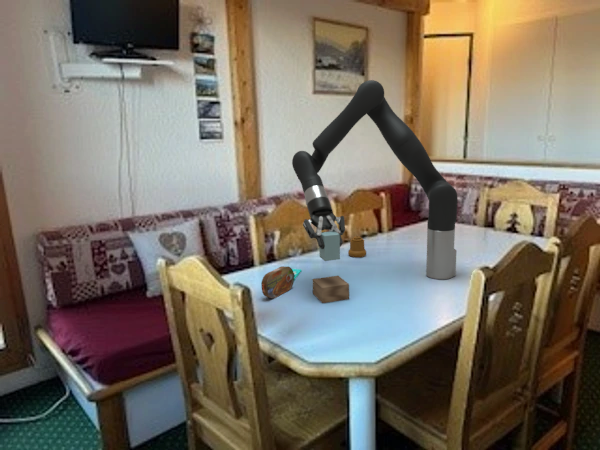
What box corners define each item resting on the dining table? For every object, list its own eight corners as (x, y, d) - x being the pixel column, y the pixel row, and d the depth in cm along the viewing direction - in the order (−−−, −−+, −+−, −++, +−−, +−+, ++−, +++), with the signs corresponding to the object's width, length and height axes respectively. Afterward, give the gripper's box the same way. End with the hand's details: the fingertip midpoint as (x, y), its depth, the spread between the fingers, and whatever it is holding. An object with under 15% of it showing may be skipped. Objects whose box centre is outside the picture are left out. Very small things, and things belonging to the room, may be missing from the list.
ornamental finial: (365, 258, 192) (347, 257, 194) (367, 253, 199) (349, 252, 201) (365, 239, 190) (346, 238, 192) (367, 234, 197) (349, 234, 199)
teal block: (334, 255, 153) (333, 231, 151) (340, 259, 148) (339, 234, 146) (319, 256, 151) (318, 232, 150) (324, 261, 147) (324, 236, 145)
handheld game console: (302, 272, 179) (302, 268, 178) (290, 286, 164) (290, 283, 163) (277, 271, 181) (276, 267, 181) (263, 285, 166) (263, 281, 166)
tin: (268, 302, 149) (266, 276, 148) (260, 300, 151) (258, 275, 149) (295, 287, 162) (294, 263, 160) (287, 286, 163) (286, 262, 161)
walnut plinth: (338, 289, 158) (338, 275, 157) (349, 299, 149) (349, 284, 148) (312, 293, 155) (312, 279, 154) (322, 303, 147) (322, 287, 146)
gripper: (299, 197, 150) (312, 243, 142) (341, 194, 154) (356, 238, 146) (294, 211, 156) (307, 255, 148) (335, 207, 161) (349, 250, 152)
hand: (331, 246), depth 147 cm, fingers closed on teal block, 5 cm apart
